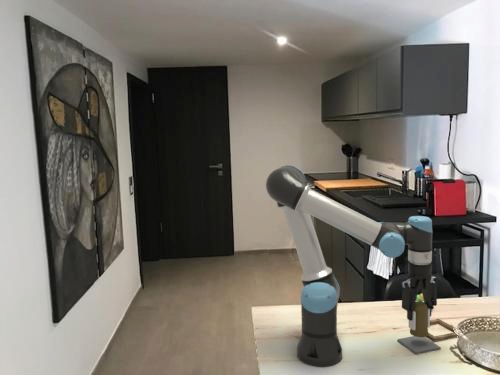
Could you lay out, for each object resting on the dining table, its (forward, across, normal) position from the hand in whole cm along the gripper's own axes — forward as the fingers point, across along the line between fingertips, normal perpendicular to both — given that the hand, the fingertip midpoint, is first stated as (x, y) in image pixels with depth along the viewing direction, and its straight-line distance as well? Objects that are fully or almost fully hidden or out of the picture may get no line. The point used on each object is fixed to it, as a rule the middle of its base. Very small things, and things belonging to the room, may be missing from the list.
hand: (419, 327), depth 152 cm
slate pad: (+7, 0, 0) cm, 7 cm away
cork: (+2, 0, 0) cm, 2 cm away
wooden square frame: (+7, +13, +7) cm, 16 cm away
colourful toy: (+7, +23, +26) cm, 35 cm away
